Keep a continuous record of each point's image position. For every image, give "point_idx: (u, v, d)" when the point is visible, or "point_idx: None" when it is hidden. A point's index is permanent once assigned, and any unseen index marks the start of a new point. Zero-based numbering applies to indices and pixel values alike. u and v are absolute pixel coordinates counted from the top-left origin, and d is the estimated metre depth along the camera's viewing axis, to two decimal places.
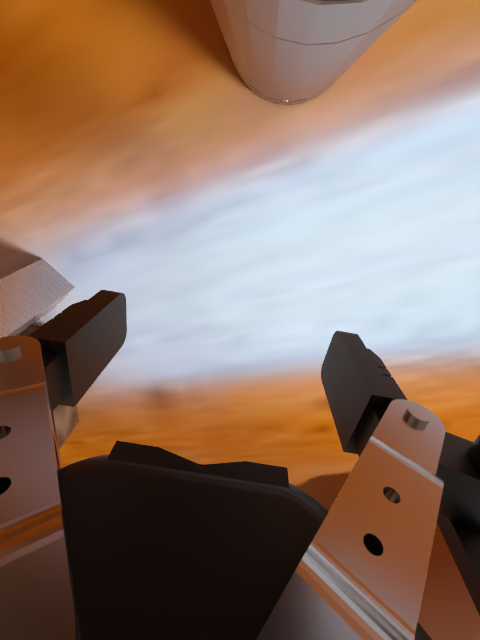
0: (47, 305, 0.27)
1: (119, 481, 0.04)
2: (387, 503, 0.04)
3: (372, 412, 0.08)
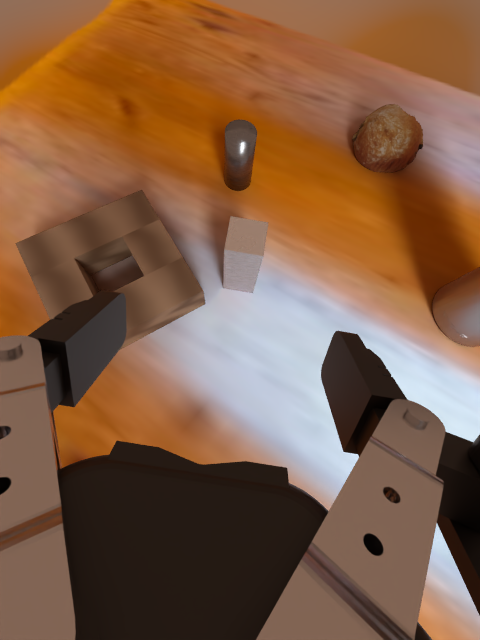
0: (256, 278, 0.34)
1: (119, 481, 0.04)
2: (387, 504, 0.04)
3: (371, 412, 0.08)
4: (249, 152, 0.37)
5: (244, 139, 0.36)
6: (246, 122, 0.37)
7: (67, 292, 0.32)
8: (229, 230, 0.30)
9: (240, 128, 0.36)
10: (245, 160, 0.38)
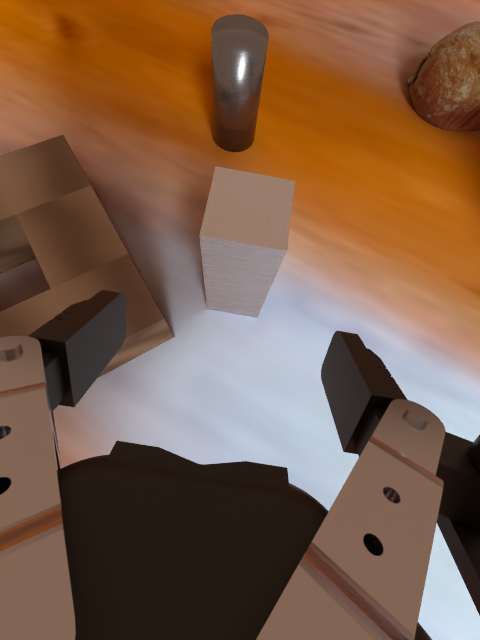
0: None
1: (119, 481, 0.04)
2: (387, 504, 0.04)
3: (372, 412, 0.08)
4: (255, 74, 0.21)
5: (246, 45, 0.20)
6: (249, 19, 0.21)
7: None
8: (212, 195, 0.14)
9: (239, 27, 0.20)
10: (248, 89, 0.22)
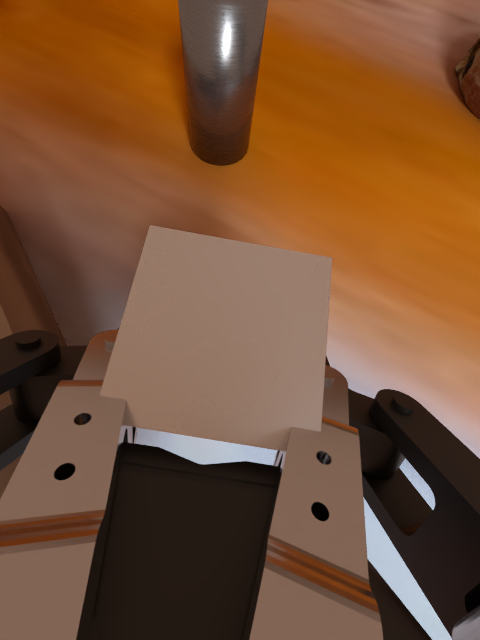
0: None
1: (119, 481, 0.04)
2: (322, 467, 0.05)
3: None
4: (249, 48, 0.13)
5: None
6: None
7: None
8: (136, 300, 0.06)
9: None
10: (238, 73, 0.14)
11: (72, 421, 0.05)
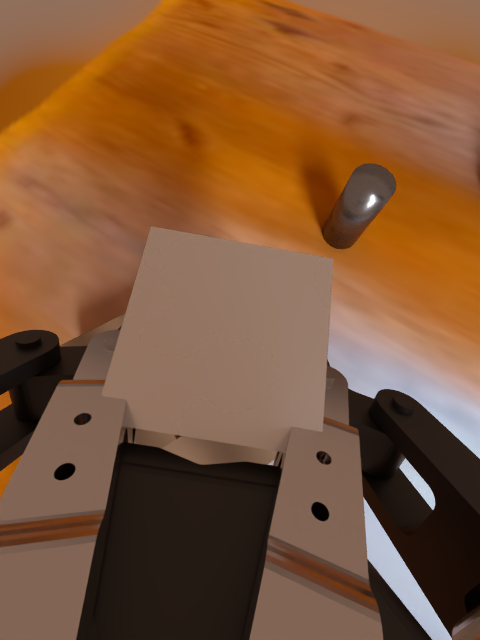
0: None
1: (119, 481, 0.04)
2: (322, 467, 0.05)
3: None
4: None
5: (380, 193, 0.25)
6: (378, 167, 0.26)
7: None
8: (137, 301, 0.06)
9: (372, 177, 0.25)
10: (372, 217, 0.27)
11: (72, 421, 0.05)
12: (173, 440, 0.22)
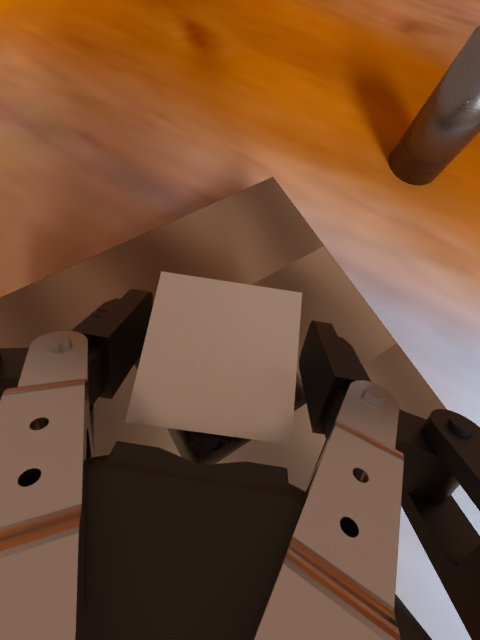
0: None
1: (119, 481, 0.04)
2: (357, 485, 0.04)
3: (336, 393, 0.08)
4: None
5: None
6: None
7: None
8: (153, 331, 0.08)
9: None
10: None
11: (28, 428, 0.04)
12: None
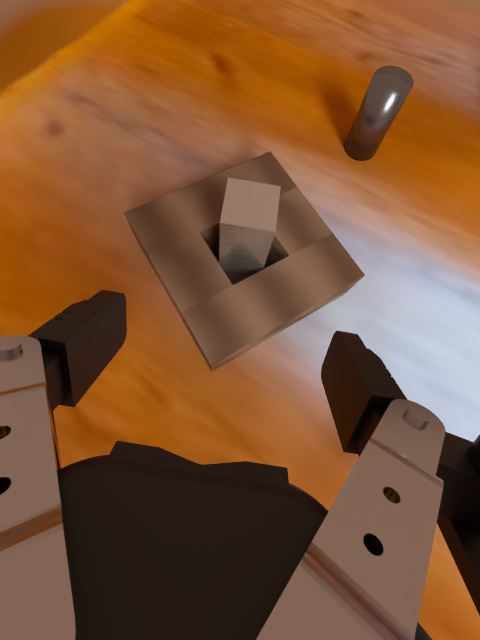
0: (263, 267, 0.26)
1: (119, 481, 0.04)
2: (387, 503, 0.04)
3: (371, 412, 0.08)
4: (402, 104, 0.30)
5: (402, 87, 0.29)
6: (393, 67, 0.29)
7: (196, 275, 0.25)
8: (226, 196, 0.21)
9: (391, 76, 0.29)
10: (394, 115, 0.31)
11: None
12: (230, 286, 0.25)
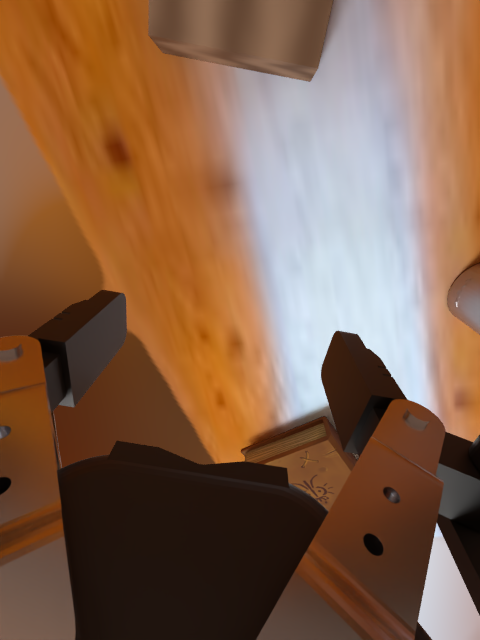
0: None
1: (119, 481, 0.04)
2: (387, 503, 0.04)
3: (371, 412, 0.08)
4: None
5: None
6: None
7: None
8: None
9: None
10: None
11: None
12: None
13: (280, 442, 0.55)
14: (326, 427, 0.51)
